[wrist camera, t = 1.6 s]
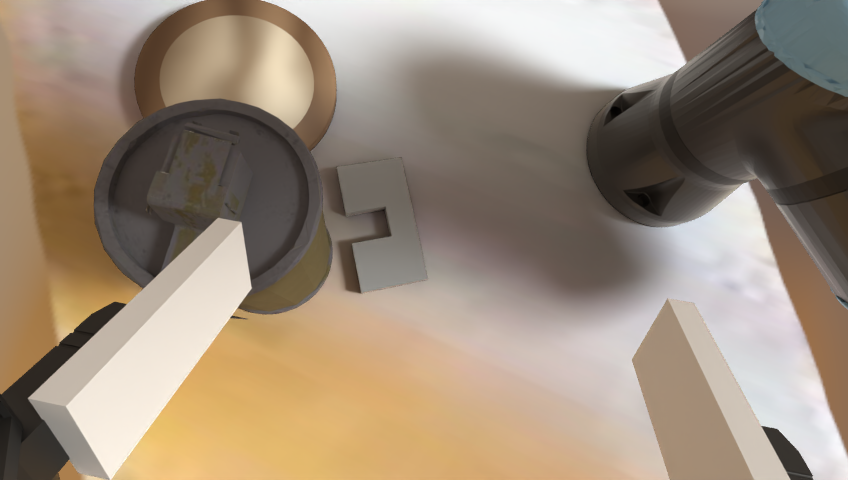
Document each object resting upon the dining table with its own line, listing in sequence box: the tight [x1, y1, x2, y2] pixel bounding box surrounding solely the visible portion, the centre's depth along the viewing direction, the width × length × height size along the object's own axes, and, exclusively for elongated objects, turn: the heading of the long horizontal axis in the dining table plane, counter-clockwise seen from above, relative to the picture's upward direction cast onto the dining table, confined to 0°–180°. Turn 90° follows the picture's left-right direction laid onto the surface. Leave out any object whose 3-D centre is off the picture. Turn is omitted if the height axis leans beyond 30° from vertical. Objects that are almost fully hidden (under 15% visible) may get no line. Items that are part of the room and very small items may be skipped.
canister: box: [94, 98, 333, 319], centre depth 28 cm, size 11×10×20 cm
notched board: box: [337, 157, 428, 294], centre depth 39 cm, size 6×12×1 cm, turn 12°
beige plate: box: [134, 0, 336, 151], centre depth 39 cm, size 17×17×2 cm
